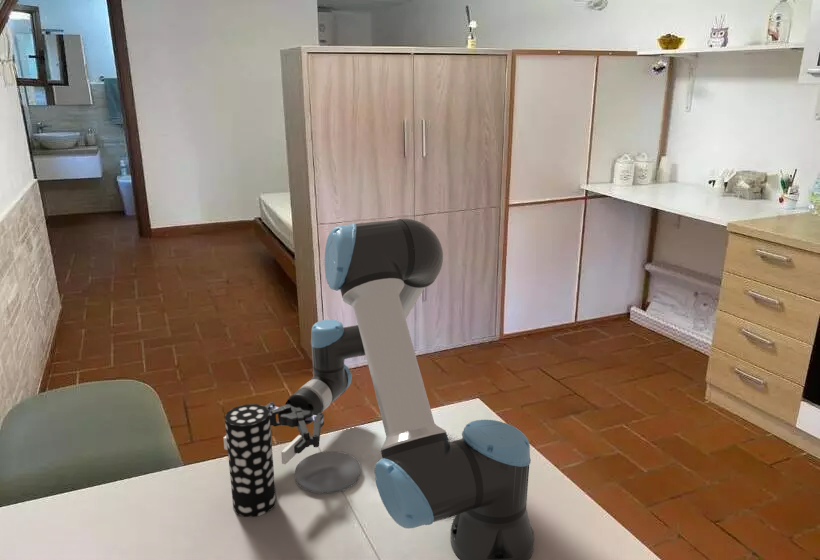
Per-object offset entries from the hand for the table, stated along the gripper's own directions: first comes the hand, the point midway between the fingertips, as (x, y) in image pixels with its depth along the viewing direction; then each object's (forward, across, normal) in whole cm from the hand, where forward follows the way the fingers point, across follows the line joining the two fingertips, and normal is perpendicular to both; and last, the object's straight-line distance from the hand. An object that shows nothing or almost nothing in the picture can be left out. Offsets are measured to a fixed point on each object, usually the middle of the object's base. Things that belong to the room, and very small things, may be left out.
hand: (253, 451), depth 125 cm
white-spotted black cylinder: (+2, 0, -11) cm, 11 cm away
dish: (-12, -10, -11) cm, 19 cm away
